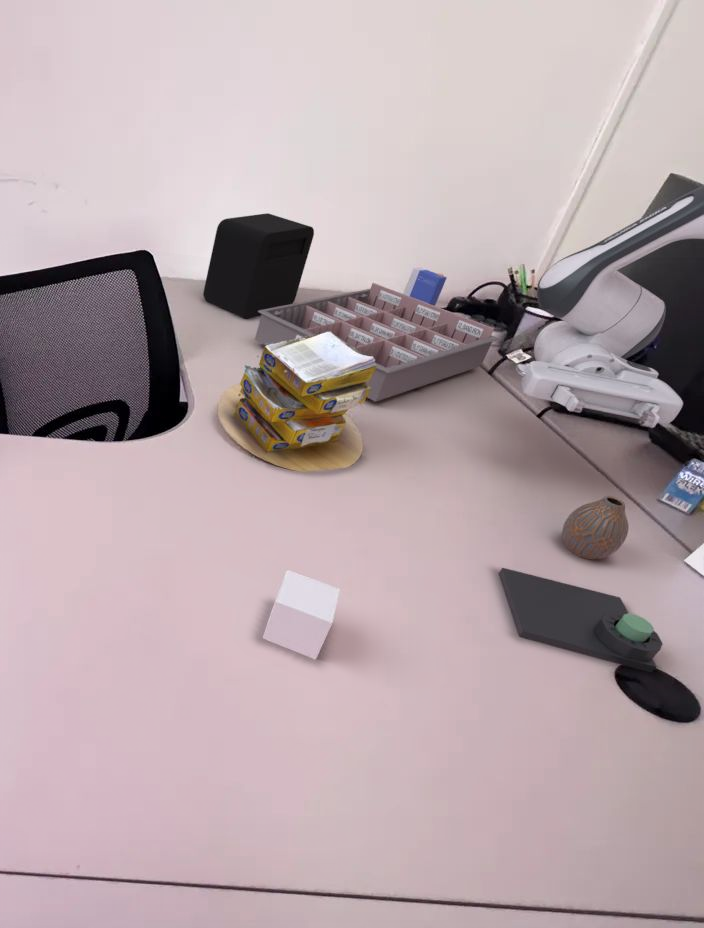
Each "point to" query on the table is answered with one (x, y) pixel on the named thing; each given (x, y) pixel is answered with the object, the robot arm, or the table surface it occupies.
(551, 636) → the scale
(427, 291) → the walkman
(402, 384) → the organizer tray
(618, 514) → the vase
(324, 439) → the stacked yellow boxes
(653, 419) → the robot arm
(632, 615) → the button
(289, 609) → the white cube
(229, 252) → the air purifier
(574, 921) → the table surface
